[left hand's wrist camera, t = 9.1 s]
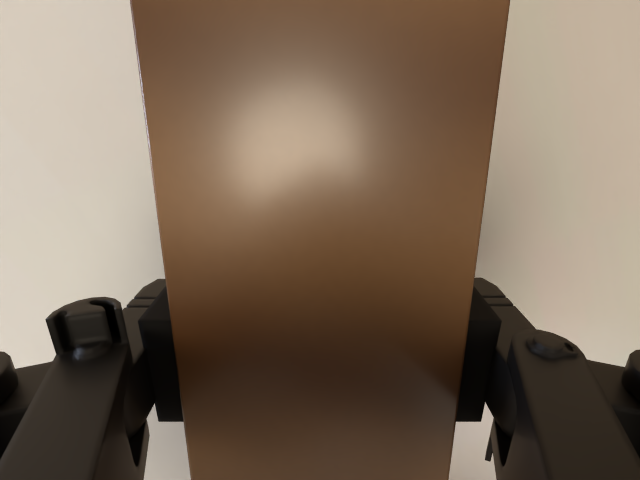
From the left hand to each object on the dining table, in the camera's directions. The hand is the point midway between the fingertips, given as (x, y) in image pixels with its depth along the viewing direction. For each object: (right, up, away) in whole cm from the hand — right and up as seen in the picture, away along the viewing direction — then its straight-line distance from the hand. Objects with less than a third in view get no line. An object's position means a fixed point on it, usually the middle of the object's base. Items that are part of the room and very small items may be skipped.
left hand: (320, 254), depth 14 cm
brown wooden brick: (0, +6, 0) cm, 6 cm away
